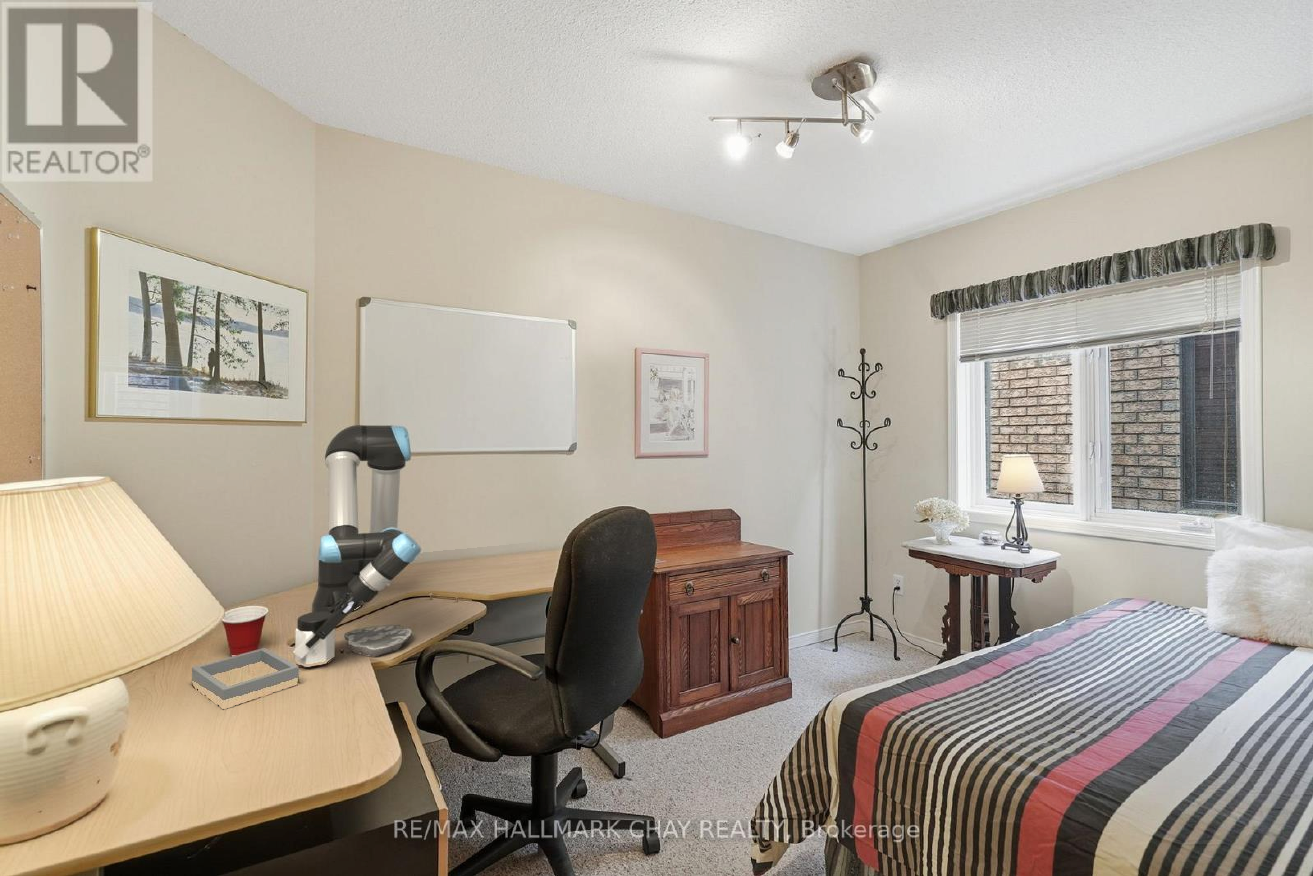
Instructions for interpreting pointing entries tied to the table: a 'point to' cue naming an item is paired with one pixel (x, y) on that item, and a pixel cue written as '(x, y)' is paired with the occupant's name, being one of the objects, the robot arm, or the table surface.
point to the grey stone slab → (377, 639)
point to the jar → (304, 630)
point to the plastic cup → (244, 628)
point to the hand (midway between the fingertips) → (300, 648)
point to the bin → (206, 671)
